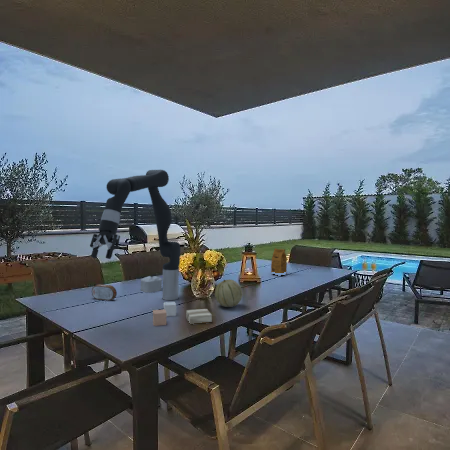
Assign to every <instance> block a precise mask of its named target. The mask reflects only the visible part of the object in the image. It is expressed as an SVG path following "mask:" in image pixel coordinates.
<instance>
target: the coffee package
mask: <svg viewBox="0 0 450 450" xmlns="http://www.w3.org/2000/svg"><path fill="white" fill-rule="evenodd" d="M287 262H288V257H287V254H286V249H284V248H283V249H279V248H276V247H275V248H274V250H273V253H272V257H271V263H270V264H271V265H270V273H271V272H275V273H284V272H286V273H287V272H288V271H287V269H288V268H287V267H288V266H287V264H288V263H287Z"/></svg>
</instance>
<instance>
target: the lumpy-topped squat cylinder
mask: <svg viewBox="0 0 450 450" xmlns="http://www.w3.org/2000/svg"><path fill="white" fill-rule="evenodd" d="M160 291H163V277H159V276H156V275H155V276H151V275H149V276H145V277H143V278H141V279H140V292H143V293H146V294H147V293H149V294H150V293H151V294H152V293H156V292H160Z"/></svg>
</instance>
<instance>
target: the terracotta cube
mask: <svg viewBox="0 0 450 450" xmlns="http://www.w3.org/2000/svg"><path fill="white" fill-rule="evenodd" d="M152 324H153V327H159V326H166V325H167V316H166V310H165V309H164V308H162V309H153V310H152Z"/></svg>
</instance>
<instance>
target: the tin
mask: <svg viewBox="0 0 450 450" xmlns="http://www.w3.org/2000/svg"><path fill="white" fill-rule="evenodd" d="M117 294H118V293H117V289H116V287H114V286H113V285H111V284H103V283H98V284H96V285H93V287H92V288H91V296H92V297H93V298H94V299H95V300H99V301H100V300H101V301H112V300H114V299H115V298H116V297H117Z"/></svg>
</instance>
